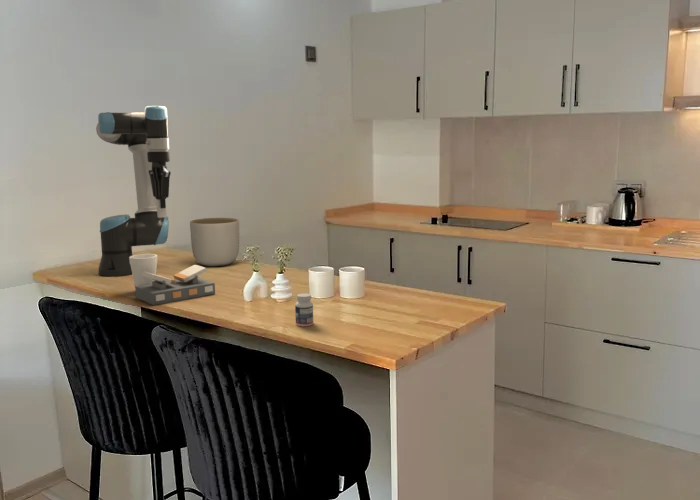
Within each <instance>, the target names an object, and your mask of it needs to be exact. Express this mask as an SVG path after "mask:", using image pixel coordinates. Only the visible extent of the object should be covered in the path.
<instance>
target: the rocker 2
mask: <svg viewBox="0 0 700 500" xmlns="http://www.w3.org/2000/svg"><path fill="white" fill-rule="evenodd" d="M206 272H208V271H207V267H204V266H203V265H199V264H192V265H191V266H189V267H187V268H185V269H183V270H180V271H179V272H177V273H174V274H173V278H174V279H173V280H179V281H182V282H187V281H189V280H191V279H193V278H196V279H197V278H198V277H199V276H200V275H202V274H204V273H206Z"/></svg>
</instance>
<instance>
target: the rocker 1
mask: <svg viewBox="0 0 700 500" xmlns="http://www.w3.org/2000/svg"><path fill="white" fill-rule="evenodd" d="M142 275H143V276H146V277H148V278H151V279H152V280H155V281H157V282H160V283H163V284H165V283H169V284H173V285H176V282H177V281H175V280H176V279H171V278H169V277H165V276H163V275H158V274H156V275H155V274H152V273H148V272H145V271H143V273H142Z"/></svg>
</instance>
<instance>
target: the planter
mask: <svg viewBox="0 0 700 500" xmlns="http://www.w3.org/2000/svg"><path fill="white" fill-rule="evenodd" d="M189 230H190V242H191V251H192V256H193V257H194V259H195V261H196V262H197V263H198V264H200V265H201V266H206V267H223V266H228V265H231V264H233V262H234V261H236V259H237V258H238V256H239V253H240V219H238V218H232V217H208V218H207V217H206V218H205V217H204V218H196V219H192V220H190V221H189Z"/></svg>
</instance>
